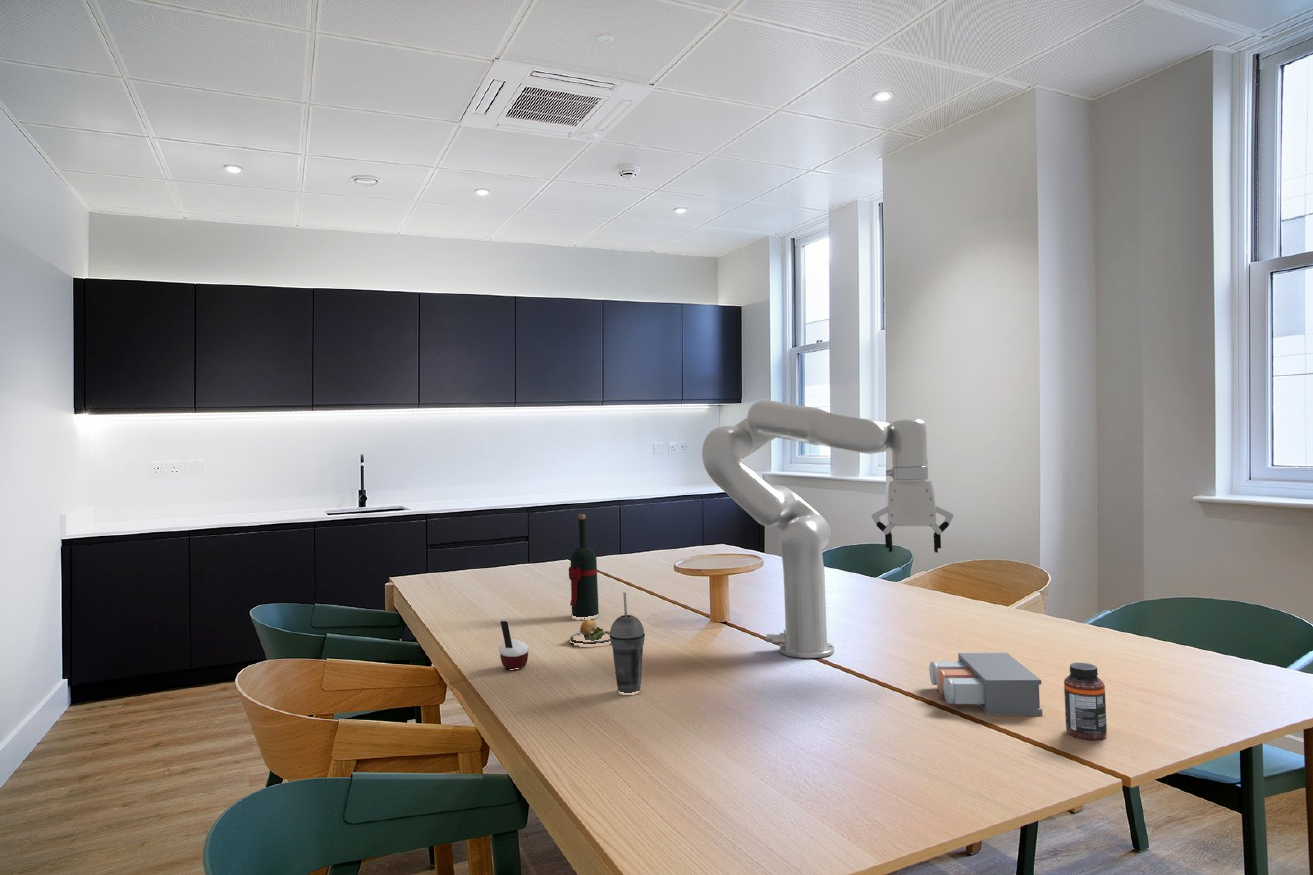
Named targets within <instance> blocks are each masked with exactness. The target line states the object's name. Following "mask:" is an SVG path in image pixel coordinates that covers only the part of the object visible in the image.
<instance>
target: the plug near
mask: <svg viewBox="0 0 1313 875" xmlns="http://www.w3.org/2000/svg"><path fill="white" fill-rule="evenodd" d="M943 686H944V694H943V695H944V699H945V702H946V704H948V705H949V704H952V705H953V704H955V705H978V704H985V694H984V682H983V681H982V680H981V679H980V678H945V679H944V685H943Z"/></svg>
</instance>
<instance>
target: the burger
mask: <svg viewBox="0 0 1313 875" xmlns="http://www.w3.org/2000/svg"><path fill="white" fill-rule="evenodd" d="M584 619H585V618H584ZM605 634H608V635H610V631H608V630H607V631H605V630H604V629H603V628H601V627H599V626H598V624H597V621H595V619H593V620H584V621H583V622H582V623H581V625H580V630H579V632H577V633H575V634H573V635H571V636H570V637H569V638H570V639H569V641H570V640H571V641H572V642H574V643H583V644H596V643H604V642H609V641H611V639H608V640H603V641H594V640H599V639H601V638H602V636H603V635H605ZM580 635H584V638H585V640H591V641H594V642H583V641H576V640H573V639H574V637H575V636H580Z"/></svg>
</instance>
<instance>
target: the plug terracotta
mask: <svg viewBox="0 0 1313 875" xmlns="http://www.w3.org/2000/svg"><path fill="white" fill-rule="evenodd" d="M945 678H975V673H974V672H973V671H972V670H971V669H952V670H937V672H936V682H937V685H936V687H937V691H938V694H940V695H944V686H943V685H944V679H945Z"/></svg>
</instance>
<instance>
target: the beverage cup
mask: <svg viewBox="0 0 1313 875" xmlns="http://www.w3.org/2000/svg"><path fill="white" fill-rule="evenodd" d="M622 594H623V595H622V596H623V609H624V611H623V612H624V614H623V615H621V616H619V617H617V618H616V619H615V620H614V621H613V623H612V624H611V626H610V630H609V632H610V636H609V637H610V639H611V644H610V645H611V648H612V654H613V661H614V672H615V679H616V680H615V681H616V687H617V692H618V691H620V692H624V693H632V692H636V691H640V692H641V688H642V687H641V686H642V673H643V671H642V670H643V652H644V651H643V650H644V644H645V637H646V634H645V629H644V625H643V624H642V622H641V620H640V619H639V618H638V617H636V616H634V615H631V614H628V607H627V606H628V605H627V593H626V591H625V592H623V593H622Z"/></svg>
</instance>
